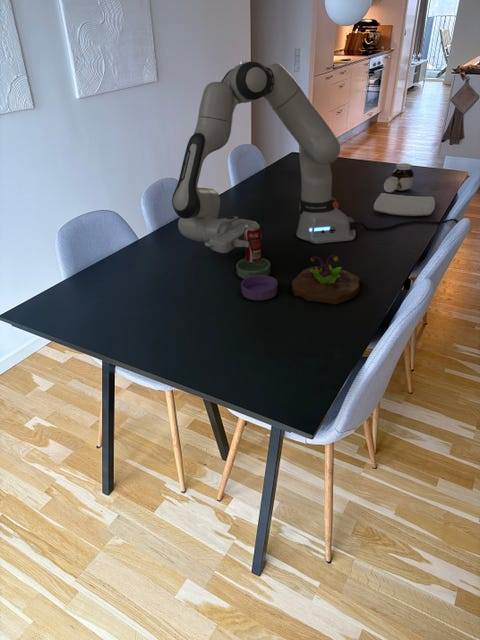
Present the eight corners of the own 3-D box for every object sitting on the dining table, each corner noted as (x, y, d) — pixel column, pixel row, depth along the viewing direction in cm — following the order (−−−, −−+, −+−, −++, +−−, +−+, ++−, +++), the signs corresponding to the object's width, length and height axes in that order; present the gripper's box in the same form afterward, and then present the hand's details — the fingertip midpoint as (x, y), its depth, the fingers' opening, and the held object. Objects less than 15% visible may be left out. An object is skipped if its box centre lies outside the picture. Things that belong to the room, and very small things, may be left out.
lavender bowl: (277, 283, 151) (277, 274, 149) (277, 301, 141) (277, 291, 140) (242, 284, 152) (242, 275, 150) (240, 301, 142) (239, 291, 141)
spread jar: (413, 189, 227) (417, 164, 220) (406, 195, 219) (410, 170, 212) (388, 186, 232) (391, 161, 226) (381, 192, 224) (384, 167, 218)
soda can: (244, 257, 158) (243, 223, 152) (260, 256, 158) (259, 222, 152) (246, 264, 154) (244, 229, 147) (262, 263, 154) (261, 228, 147)
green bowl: (270, 265, 162) (270, 256, 161) (269, 280, 153) (269, 271, 151) (238, 265, 163) (237, 257, 162) (235, 280, 154) (235, 271, 152)
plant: (344, 310, 135) (347, 274, 129) (282, 295, 144) (282, 261, 139) (368, 281, 149) (371, 248, 143) (310, 269, 159) (312, 237, 153)
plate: (369, 215, 199) (370, 209, 197) (378, 197, 218) (379, 192, 216) (432, 221, 190) (433, 214, 189) (435, 202, 209) (436, 196, 208)
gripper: (200, 234, 150) (236, 242, 143) (236, 214, 164) (271, 220, 157) (201, 253, 153) (237, 261, 146) (237, 231, 167) (271, 238, 160)
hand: (255, 240), depth 152 cm, fingers closed on soda can, 5 cm apart
